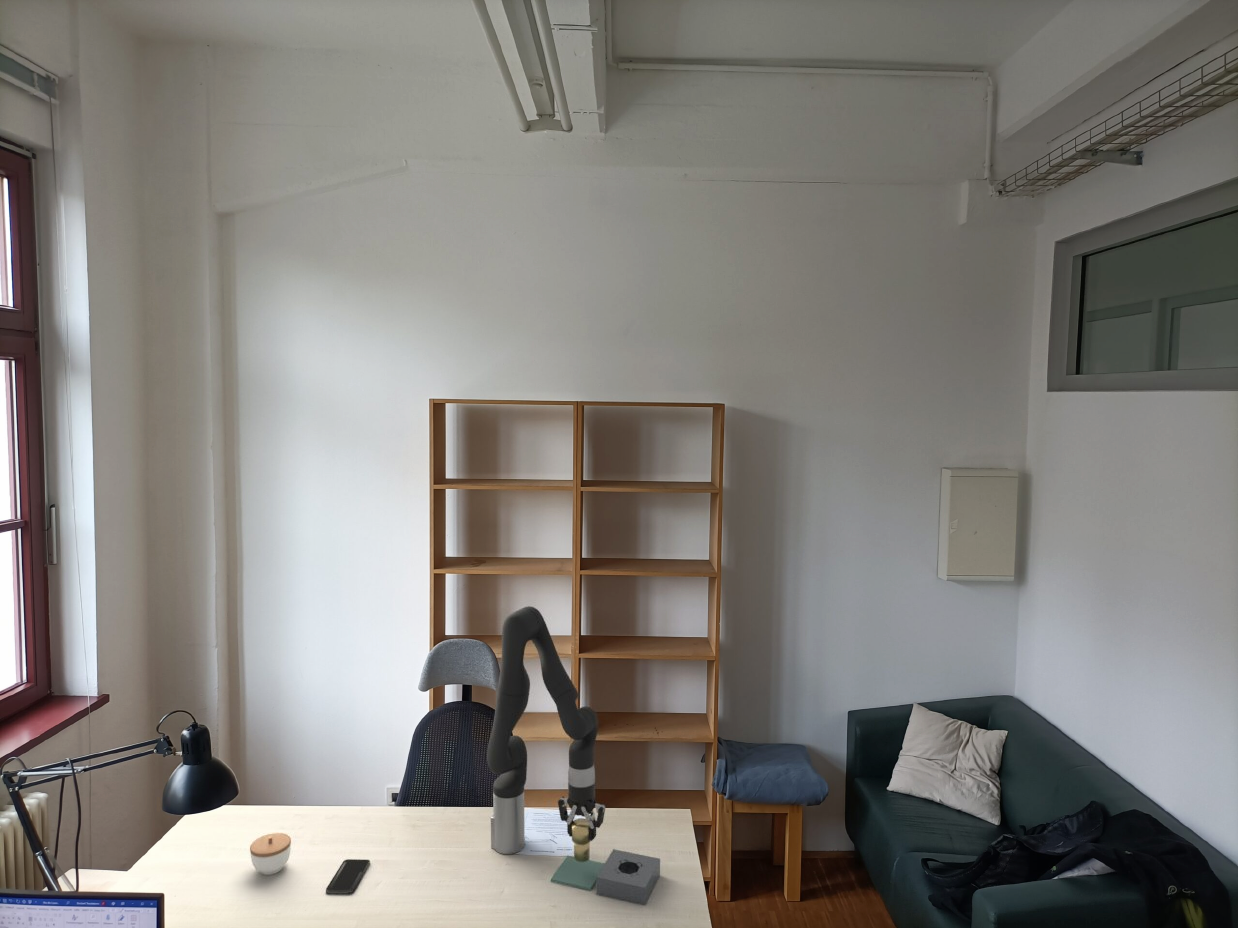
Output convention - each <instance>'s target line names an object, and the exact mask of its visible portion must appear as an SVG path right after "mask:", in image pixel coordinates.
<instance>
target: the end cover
mask: <svg viewBox="0 0 1238 928" xmlns="http://www.w3.org/2000/svg"><path fill="white" fill-rule="evenodd" d="M589 828H590V826H589V823H588V822H587V821H586V818H585V817H582V818H576V819H573V822H572V837H571V841H572V842H573V857H574V859H575V860H576V861H578V862H585V861H587V860H590V857H591V856H590V855H591V852H590V850H591V848H590V847H591V846H590V843H591V841H590V840H589Z"/></svg>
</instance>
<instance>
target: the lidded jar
mask: <svg viewBox="0 0 1238 928" xmlns="http://www.w3.org/2000/svg"><path fill="white" fill-rule="evenodd" d="M291 845H292V839H291V836H290V835H288V834H287V833H283V832H273V833H268V834H265V835H263V836H261V837H258V838H256V839H255V840H253V841H252V843H251V844H250V845H249V853H250V859H251V860H250V861H251V863H252V866H253V867H254V869H255V871H258V872H259V873H260V874H261V875H264V876H271V875H274V874H277V873H279V872H280V871H282V870H283V868H284V867H285V866H286V865H287V863H288V861H289V859H290V855H291V851H292V850H291Z"/></svg>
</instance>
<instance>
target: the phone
mask: <svg viewBox="0 0 1238 928" xmlns="http://www.w3.org/2000/svg"><path fill="white" fill-rule="evenodd" d="M370 864H371V860H370V859H360V858H359V859H353V858H350V859H349V858H348V859H344V860H343V861H342V862H341V864H340V866H339V867H338V869H337V871H336V872H335V874H334V876H333V877H332V879H331V881H330V882H329V884H328V885H327V887H326V889H325V894H326V895H341V896H342V895H353V894H354V893H355V892H356V890H357V888H358V886H359V884H360V883H361V881H362V879H363V877H364V875H365V874H366V872H367V870H368V869H369V867H370Z"/></svg>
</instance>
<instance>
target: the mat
mask: <svg viewBox="0 0 1238 928" xmlns="http://www.w3.org/2000/svg"><path fill="white" fill-rule="evenodd" d="M604 864H605V862H600V861H595V860H590V859H589V860H587V861H585V862H578V861H576V860H575V859H574V856H572V855H567V856H566V857H565V858H564V860H563V861H562V863H560V865H559V867H558V868H557V870H556V871H555V872H554V873H553V875H552V877H551V878H550V882H551V883H555V884H559V885H562V886H567V887H572V888H577V889H581V890H585V891H588V892H589V891H590V892H591V891H592V889H593V887H594V886H596V877H597V875H598V873H599V872H600V870H601V869H602V867H603V865H604Z"/></svg>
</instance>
